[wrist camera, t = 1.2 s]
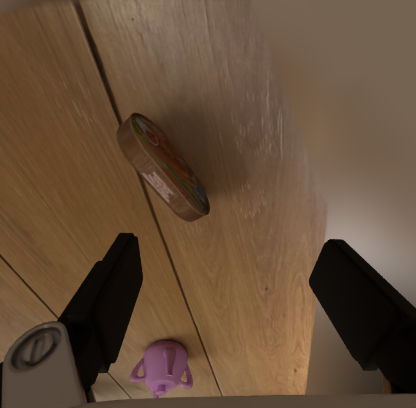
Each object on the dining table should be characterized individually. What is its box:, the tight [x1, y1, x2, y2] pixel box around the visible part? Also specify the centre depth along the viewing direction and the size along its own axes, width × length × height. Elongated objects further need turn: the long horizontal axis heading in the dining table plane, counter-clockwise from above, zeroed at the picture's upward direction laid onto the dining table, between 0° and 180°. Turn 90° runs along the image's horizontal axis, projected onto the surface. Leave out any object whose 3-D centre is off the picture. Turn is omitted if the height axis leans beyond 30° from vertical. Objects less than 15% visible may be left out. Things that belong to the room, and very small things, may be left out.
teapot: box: [130, 341, 193, 398], centre depth 48 cm, size 12×14×9 cm
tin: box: [117, 113, 210, 222], centre depth 24 cm, size 15×3×8 cm, turn 34°
